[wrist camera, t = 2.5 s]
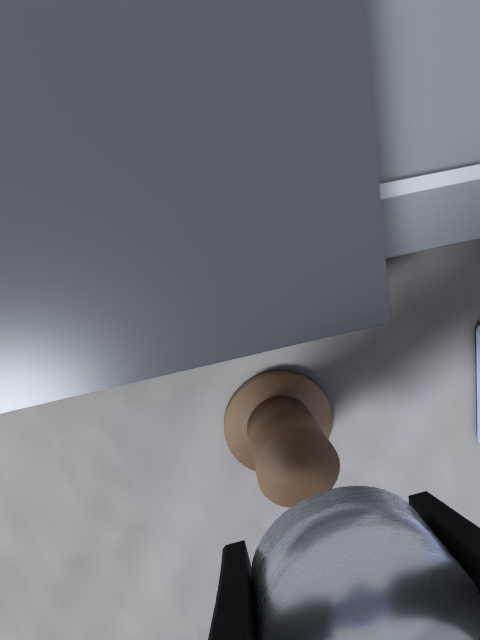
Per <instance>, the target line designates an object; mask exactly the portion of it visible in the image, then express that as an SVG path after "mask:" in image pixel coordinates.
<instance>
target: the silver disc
mask: <svg viewBox="0 0 480 640" xmlns="http://www.w3.org/2000/svg"><path fill="white" fill-rule="evenodd" d="M251 581H252V589H253V598H254V606H255V614H256V621H257V629H258V637H259V640H479V637H480V593H479V591H478V589H477V587H476V585H475V583H474V582H473V581H472V579H471V578H470V577H469V575H468V574H467V573H466V572H465V570H464V569H463V568H462V567H461V566H460V564H459V563H458V562H457V561H456V560H455V558H454V557H453V556H452V555H451V553H450V552H449V551H448V550H447V549H446V547H445V546H444V545H443V544H442V542H441V541H440V540H439V539H438V538H437V536H436V535H435V534H434V533H433V531H432V530H431V529H430V528H429V527H428V525H427V524H426V523H425V522H424V520H423V519H422V518H421V517H420V516H419V514H418V513H417V512H416V511H415V509H414V508H413V507H412V506H411V505H410V504H409V503H407V502H406V501H405V500H404V499H402V498H401V497H399V496H398V495H395V494H393V493H391V492H389V491H386V490H383V489H379V488H375V487H368V486H347V487H339V488H334V489H329V490H326V491H323V492H320V493H317V494H315V495H313V496H310V497H308V498H306V499H304V500H302V501H301V502H299V503H297V504H296V505H294V506H293V507H291V508H290V509H289V510H287V511H286V512H284V513H283V514H282V515H281V516H280V517H279V518H278V519H277V520H276V521H275V522H274V523H273V524H272V525H271V527H270V528H269V529H268V530H267V532H266V533H265V535H264V536H263V538H262V539H261V541H260V543H259V545H258V547H257V549H256V552H255V555H254V558H253V562H252V568H251Z"/></svg>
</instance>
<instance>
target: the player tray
mask: <svg viewBox="0 0 480 640" xmlns="http://www.w3.org/2000/svg"><path fill="white" fill-rule="evenodd" d="M364 8H365V20H366V32H367V44H368V55H369V67H370V79H371V91H372V103H373V115H374V126H375V138H376V150H377V162H378V174H379V186H380V198H381V209H382V221H383V233H384V245H385V257H386V258H391V257H395V256H400V255H404V254H409V253H414V252H418V251H423V250H427V249H432V248H436V247H441V246H446V245H450V244H455V243H459V242H464V241H469V240H473V239H478V238H480V0H364Z"/></svg>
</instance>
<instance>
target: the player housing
mask: <svg viewBox="0 0 480 640" xmlns="http://www.w3.org/2000/svg"><path fill="white" fill-rule="evenodd" d="M390 322H391V316H390V304H389V292H388V280H387V269H386V257H385V245H384V233H383V221H382V209H381V198H380V186H379V174H378V162H377V150H376V138H375V126H374V115H373V103H372V91H371V79H370V67H369V55H368V44H367V32H366V20H365V8H364V0H0V413H5V412H9V411H13V410H17V409H22V408H26V407H30V406H35V405H39V404H43V403H47V402H52V401H56V400H60V399H64V398H69V397H73V396H77V395H82V394H86V393H90V392H94V391H99V390H103V389H107V388H112V387H116V386H120V385H124V384H129V383H133V382H137V381H142V380H146V379H150V378H154V377H159V376H163V375H167V374H172V373H176V372H180V371H184V370H189V369H193V368H197V367H202V366H206V365H210V364H214V363H219V362H223V361H227V360H232V359H236V358H240V357H244V356H249V355H253V354H257V353H261V352H266V351H270V350H274V349H279V348H283V347H287V346H291V345H296V344H300V343H304V342H309V341H313V340H317V339H321V338H326V337H330V336H334V335H339V334H343V333H347V332H351V331H356V330H360V329H364V328H369V327H373V326H377V325H381V324H386V323H390Z"/></svg>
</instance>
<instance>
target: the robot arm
mask: <svg viewBox="0 0 480 640" xmlns="http://www.w3.org/2000/svg"><path fill="white" fill-rule="evenodd" d="M476 361H477V435H478V442H479V443H480V325H479V326H478V327H477V330H476ZM409 504H410V505H411V506H412V507H413V508H414V509H415V511H416V512H417V513H418V514H419V516H420V517H421V518H422V519H423V520H424V522H425V523H426V524H427V525H428V527H429V528H430V529H431V530H432V531H433V533H434V534H435V535H436V536H437V538H438V539H439V540H440V541H441V542H442V544H443V545H444V546H445V547H446V549H447V550H448V551H449V552H450V553H451V555H452V556H453V557H454V558H455V560H456V561H457V562H458V563H459V564H460V566H461V567H462V568H463V569H464V570H465V572H466V573H467V574H468V575H469V577H470V578H471V579H472V581H473V582H474V583H475V585H476V587H477V589H478V591H479V593H480V528H479V527H478V526H476V525H475V524H473V523H472V522H470V521H469V520H467V519H466V518H464V517H463V516H462V515H460V514H459V513H457V512H456V511H454V510H453V509H451V508H450V507H449V506H447V505H446V504H444V503H443V502H441V501H440V500H438V499H437V498H436V497H434V496H433V495H431V494H430V493H428V492H427V491H425V492H421V493H418V494H414V495H410V496H409ZM208 640H259V637H258V629H257V621H256V614H255V606H254V598H253V589H252V581H251V564H250V560H249V556H248V552H247V548H246V544H245V541H244V540H243V541H240V542H236V543H232V544H228V545H225V547H224V548H223V553H222V564H221V572H220V579H219V586H218V591H217V597H216V603H215V608H214V613H213V618H212V623H211V628H210V633H209V638H208ZM479 640H480V637H479Z"/></svg>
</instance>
